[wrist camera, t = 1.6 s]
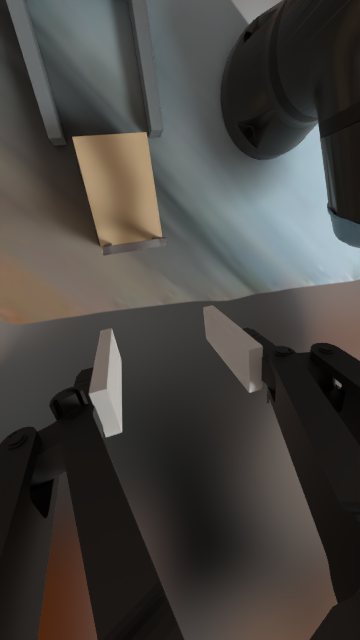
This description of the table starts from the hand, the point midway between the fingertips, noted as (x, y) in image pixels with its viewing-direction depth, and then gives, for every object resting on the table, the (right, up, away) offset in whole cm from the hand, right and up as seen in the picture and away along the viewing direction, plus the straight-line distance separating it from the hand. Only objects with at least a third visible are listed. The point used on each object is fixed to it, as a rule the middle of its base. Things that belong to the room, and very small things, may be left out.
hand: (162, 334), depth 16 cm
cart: (-7, +18, +16) cm, 26 cm away
